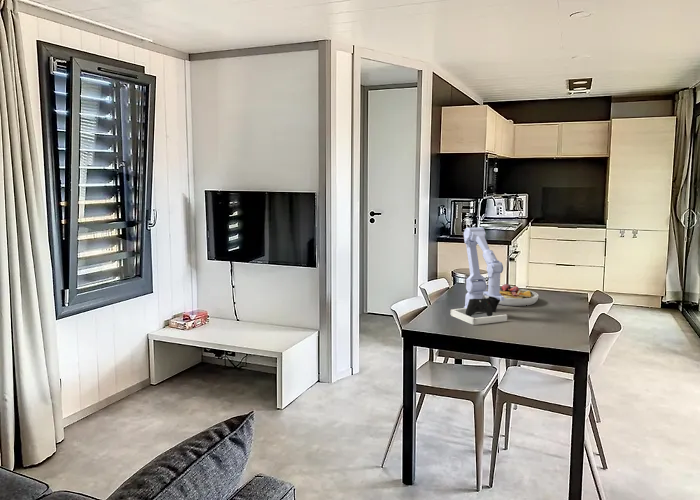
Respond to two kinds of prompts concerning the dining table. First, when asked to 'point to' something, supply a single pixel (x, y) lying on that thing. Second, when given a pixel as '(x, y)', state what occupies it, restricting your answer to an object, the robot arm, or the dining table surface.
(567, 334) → the dining table surface
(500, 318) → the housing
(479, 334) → the dining table surface
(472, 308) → the gaming controller
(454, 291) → the dining table surface
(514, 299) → the bowl
